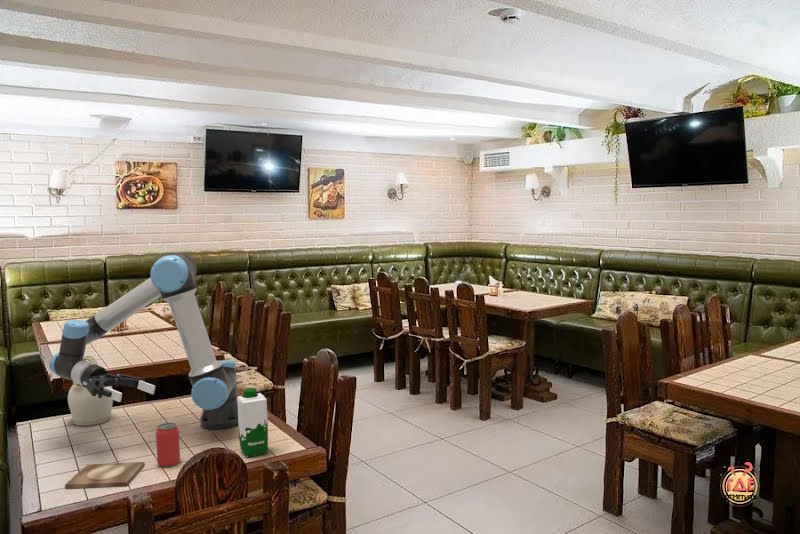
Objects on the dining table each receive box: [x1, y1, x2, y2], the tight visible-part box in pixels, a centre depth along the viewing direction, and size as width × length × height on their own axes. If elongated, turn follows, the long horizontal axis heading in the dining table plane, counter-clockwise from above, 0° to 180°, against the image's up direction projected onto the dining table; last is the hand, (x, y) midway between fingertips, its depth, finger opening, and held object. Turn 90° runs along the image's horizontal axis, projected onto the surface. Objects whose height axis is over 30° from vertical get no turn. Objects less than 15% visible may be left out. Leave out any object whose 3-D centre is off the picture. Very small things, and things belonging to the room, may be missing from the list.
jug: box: [67, 355, 114, 427], centre depth 226 cm, size 15×16×25 cm
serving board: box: [64, 461, 145, 490], centre depth 177 cm, size 17×14×2 cm
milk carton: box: [237, 387, 269, 458], centre depth 192 cm, size 9×9×20 cm
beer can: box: [155, 422, 181, 468], centre depth 185 cm, size 7×7×12 cm
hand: (137, 393), depth 190 cm, fingers open, 13 cm apart
